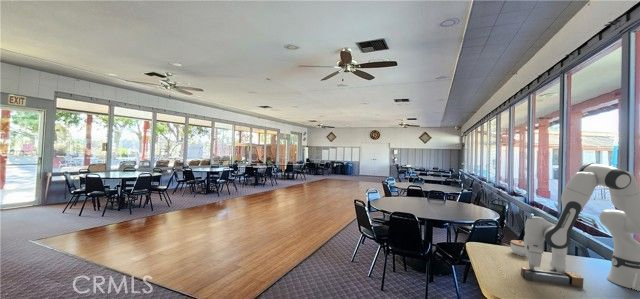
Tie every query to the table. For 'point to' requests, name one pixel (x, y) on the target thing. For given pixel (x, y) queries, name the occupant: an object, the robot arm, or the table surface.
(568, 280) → the tong base
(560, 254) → the water bottle
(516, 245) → the lidded jar
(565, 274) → the tong arm
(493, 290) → the table surface
